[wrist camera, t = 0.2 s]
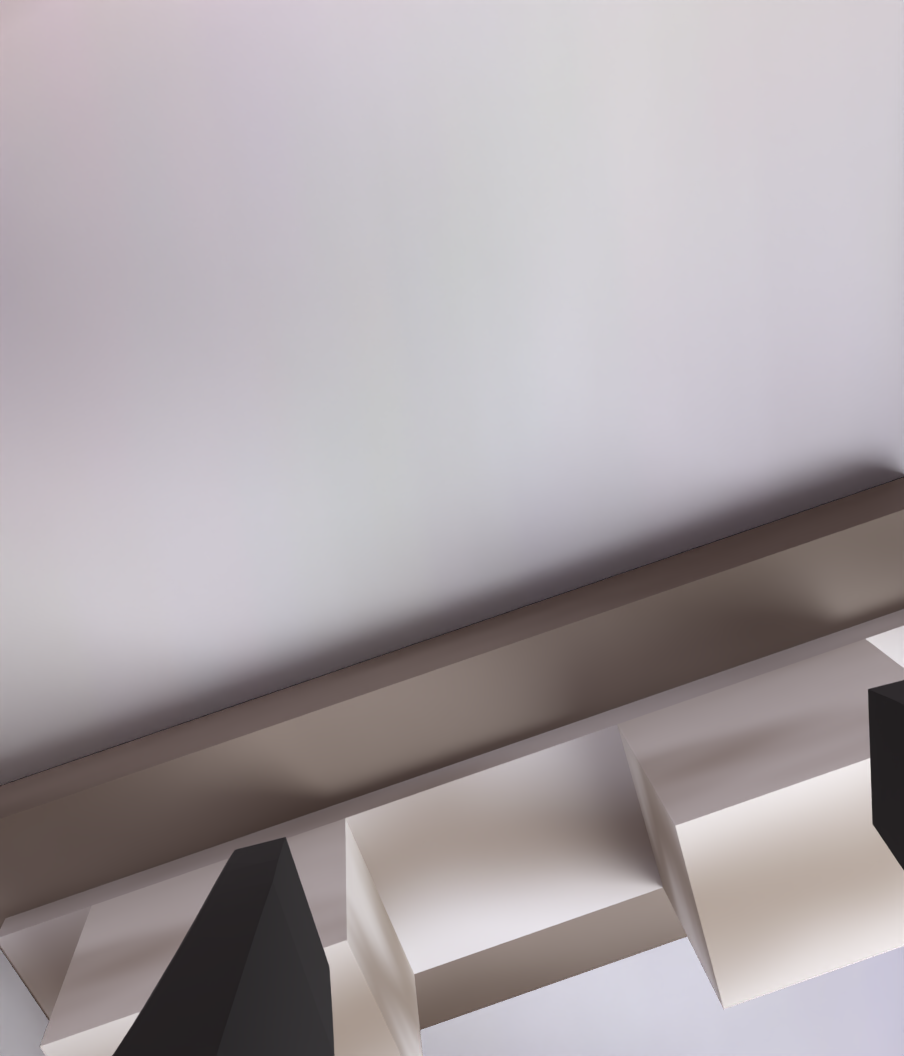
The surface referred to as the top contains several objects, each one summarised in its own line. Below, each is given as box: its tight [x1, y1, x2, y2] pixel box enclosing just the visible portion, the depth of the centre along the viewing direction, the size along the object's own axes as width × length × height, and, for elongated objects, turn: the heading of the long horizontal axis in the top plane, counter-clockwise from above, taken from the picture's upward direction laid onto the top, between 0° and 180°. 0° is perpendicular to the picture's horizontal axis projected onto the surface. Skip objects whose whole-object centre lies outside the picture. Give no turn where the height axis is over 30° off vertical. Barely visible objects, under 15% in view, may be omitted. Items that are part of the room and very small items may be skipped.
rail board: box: [0, 477, 904, 1056], centre depth 19 cm, size 10×24×6 cm, turn 107°
